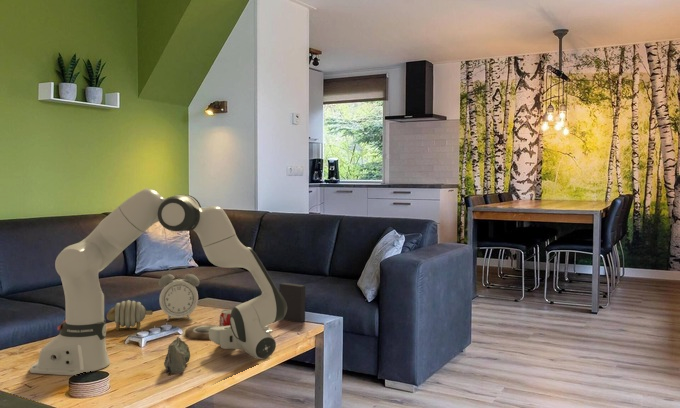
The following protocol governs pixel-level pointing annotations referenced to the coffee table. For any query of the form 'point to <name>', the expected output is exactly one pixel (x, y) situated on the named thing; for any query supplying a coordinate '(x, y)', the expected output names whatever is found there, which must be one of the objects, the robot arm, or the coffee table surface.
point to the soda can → (225, 317)
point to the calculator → (294, 301)
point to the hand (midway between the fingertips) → (231, 326)
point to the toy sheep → (127, 314)
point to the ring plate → (199, 332)
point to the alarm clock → (178, 294)
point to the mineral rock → (177, 357)
